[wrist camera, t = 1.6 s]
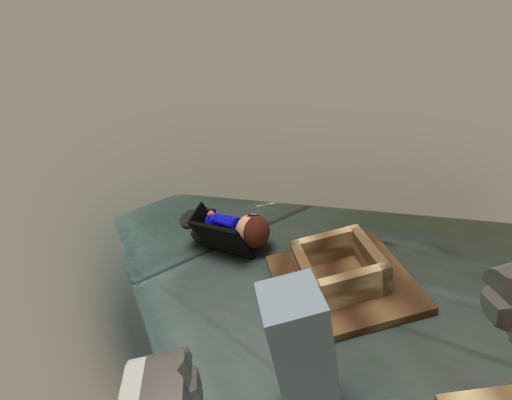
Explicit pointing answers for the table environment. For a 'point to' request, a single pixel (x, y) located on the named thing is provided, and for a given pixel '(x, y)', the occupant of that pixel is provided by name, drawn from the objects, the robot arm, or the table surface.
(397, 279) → the cradle jig
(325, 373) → the block
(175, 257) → the table surface
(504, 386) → the wing slat
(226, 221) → the character figurine
